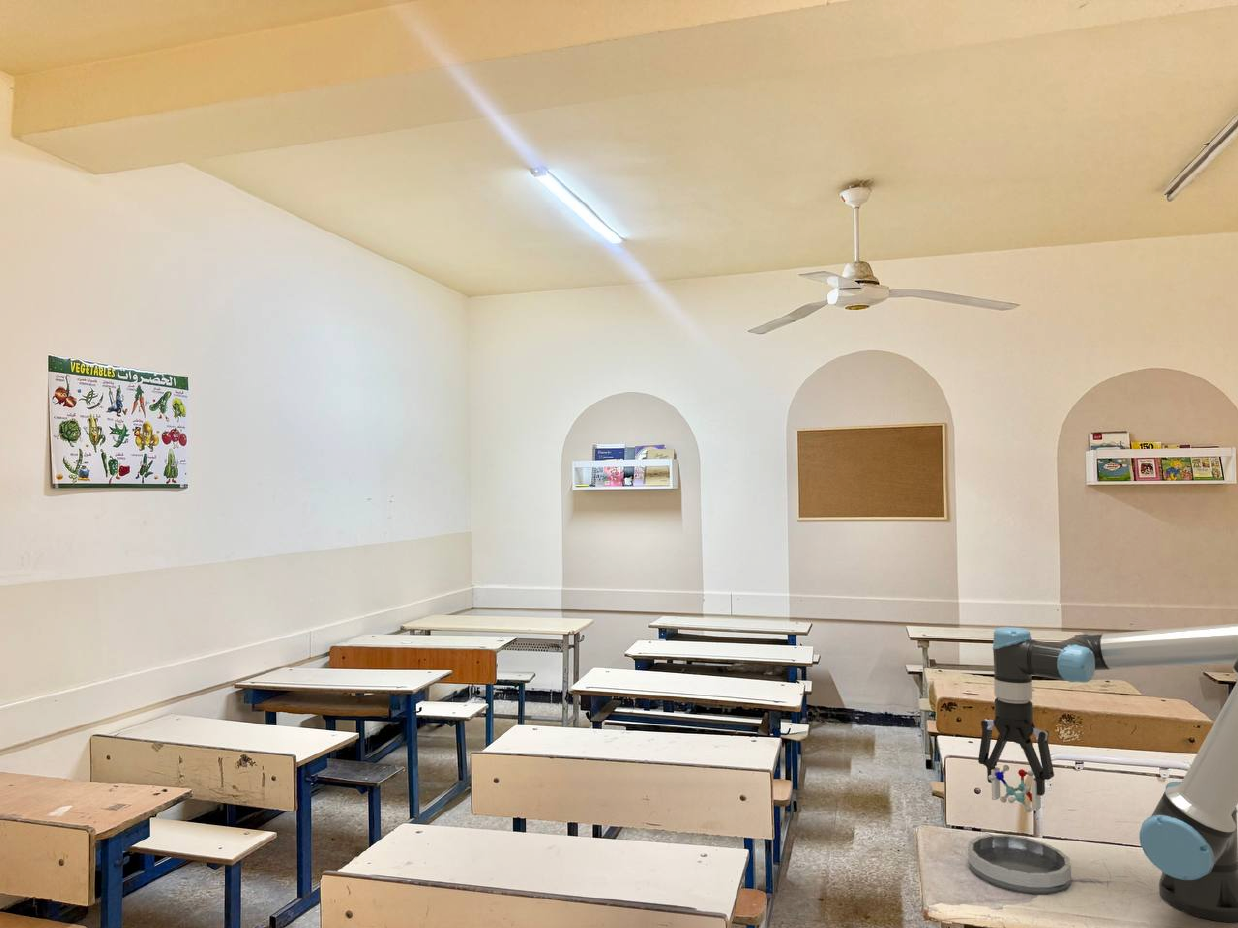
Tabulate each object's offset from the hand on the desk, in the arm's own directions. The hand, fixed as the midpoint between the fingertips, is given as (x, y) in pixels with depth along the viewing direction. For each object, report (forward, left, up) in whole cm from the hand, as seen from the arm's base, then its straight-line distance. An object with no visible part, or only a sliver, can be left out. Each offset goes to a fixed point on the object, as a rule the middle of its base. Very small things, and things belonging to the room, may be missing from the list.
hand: (1016, 803), depth 178 cm
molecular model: (0, 0, 0) cm, 1 cm away
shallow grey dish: (0, 0, -15) cm, 15 cm away
